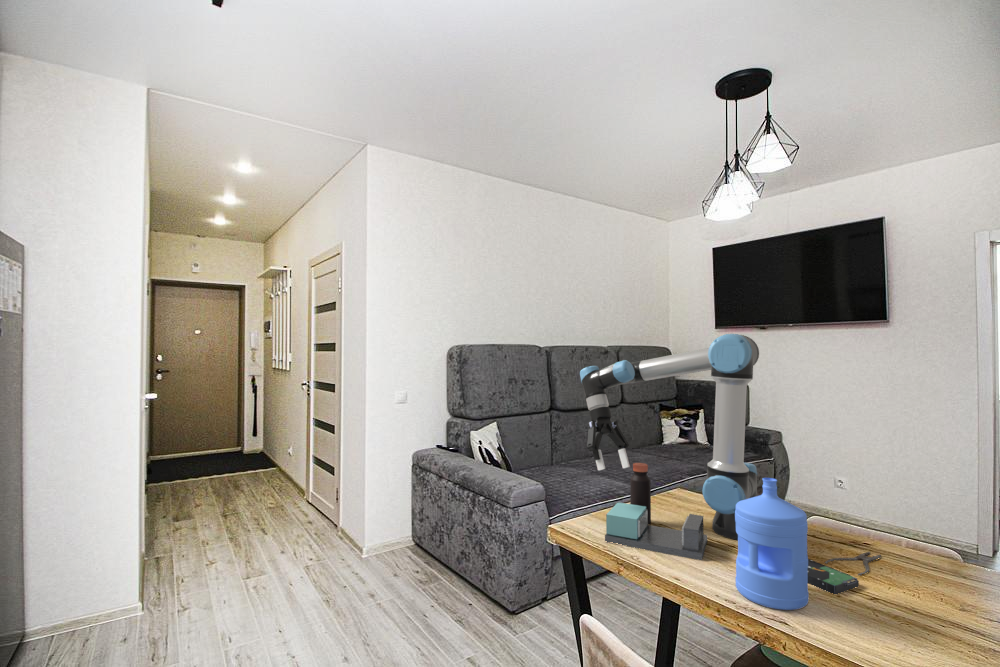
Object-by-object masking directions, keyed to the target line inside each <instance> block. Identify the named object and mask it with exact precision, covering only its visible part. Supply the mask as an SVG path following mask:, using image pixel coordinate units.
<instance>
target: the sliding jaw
mask: <svg viewBox="0 0 1000 667" xmlns="http://www.w3.org/2000/svg"><path fill="white" fill-rule="evenodd" d="M605 524H606V525H605V526H606V528H605V533H606V534H610V535H615V536H621V537H626V538H632V539H638V537H640V536H641V534H642V533H643V531H644V530H645V528H646V527H647V525H648V509H646V507H645V506H639V505H632V504H630V503H624V502H619V501H618V502H617V503H615V505H614V506H613V507H612V508H611V509H610V510H609V511H608V512H607V513H606V522H605ZM606 534H605V535H606Z"/></svg>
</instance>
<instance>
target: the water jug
mask: <svg viewBox="0 0 1000 667" xmlns="http://www.w3.org/2000/svg"><path fill="white" fill-rule="evenodd" d="M777 482H778V479H776V478H773V477H762V483H763V484H762V485H761V486H762V493H761V494H760V495H757V496H756V497H752V498H749V499H745V500H742V501H739V502H738V503H737V504H736V510H735V522H736V533H737V534H738V540H737V557H736V559H735V588H736V589H737V591H738V592H739V593H740V594H741V595H742V596H743V597H744V598H745V599H747V600H749V601H751V602H753V603H755V604H757V605H761V606H763V607H765V608H769V609H770V608H771V609H775V610H781V611H783V610H784V611H795V610H799V609H803V608H804V607H806V606H807V605H808V603H809V599H810V598H809V590H808V589H809V586H808V585H809V584H808V559H809V556H808V532H809V530H808V529H809V528H808V525H809V524H808V520H807V519H808V516H807V513H806V512H805V511H804V510H803V509H802V508H800V507H798V506H795V505H794V504H792V503H791V502H789V501H787V500H785V499H783V498H780V497H779V496H778V486H777Z"/></svg>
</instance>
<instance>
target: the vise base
mask: <svg viewBox="0 0 1000 667" xmlns="http://www.w3.org/2000/svg"><path fill="white" fill-rule="evenodd" d="M605 541H607V542H606V543H608V542H613V543H618V544H622V545H621V546H623V545H627V546H626V547H628V546H631V547H630V548H634V547H635V549H639V548H640V549H639V550H644V549H645V551H649V550H650V552H655V553H660V554H661V553H662V554H666V555H671V556H676V557H682V558H687V559H692V560H697V561H703V557H704V555H705V551H706V548H707V543H708V534H704V515H700V514H693V513H689V514H688V515H687V516H686V518H685V520H684V522H683V524H682V527H681V529H673V528H667V527H661V526H656V525H651V524H649V525H647V527H646V528H645V530H644V531H643V533H642V534H641V536H640V537H638V539H632V538H626V537H621V536H615V535H610V534H604V542H605ZM613 543H612V544H613ZM618 544H617V545H618Z"/></svg>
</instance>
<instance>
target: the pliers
mask: <svg viewBox="0 0 1000 667" xmlns="http://www.w3.org/2000/svg"><path fill="white" fill-rule="evenodd" d="M870 555H871V551H867V552H862V553H860V554H858V555H855V556H854V557H836V558H831V559H827V560H826V561H825V562H824V564H825V563H826V564H825V565H828V564H829V563H830V561H831V562H834V560H836V561H863V565H864V568H865V571H863V572H859V573H857V576H859V575H860V576H863V575H862V574H865V573H867V572H868V573H869V572H870V571H869V570H871V569H870V565H869V564H870V563H872V562H874V561H873V560H876V559H878V558H880V557H881V558H882V555H881V554H876V555H873V556H870ZM881 558H880V559H881ZM871 561H872V562H871ZM876 561H877V560H876ZM828 562H829V563H828ZM869 562H870V563H869ZM868 563H869V564H868ZM868 573H867V574H868ZM865 575H866V574H865Z"/></svg>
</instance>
